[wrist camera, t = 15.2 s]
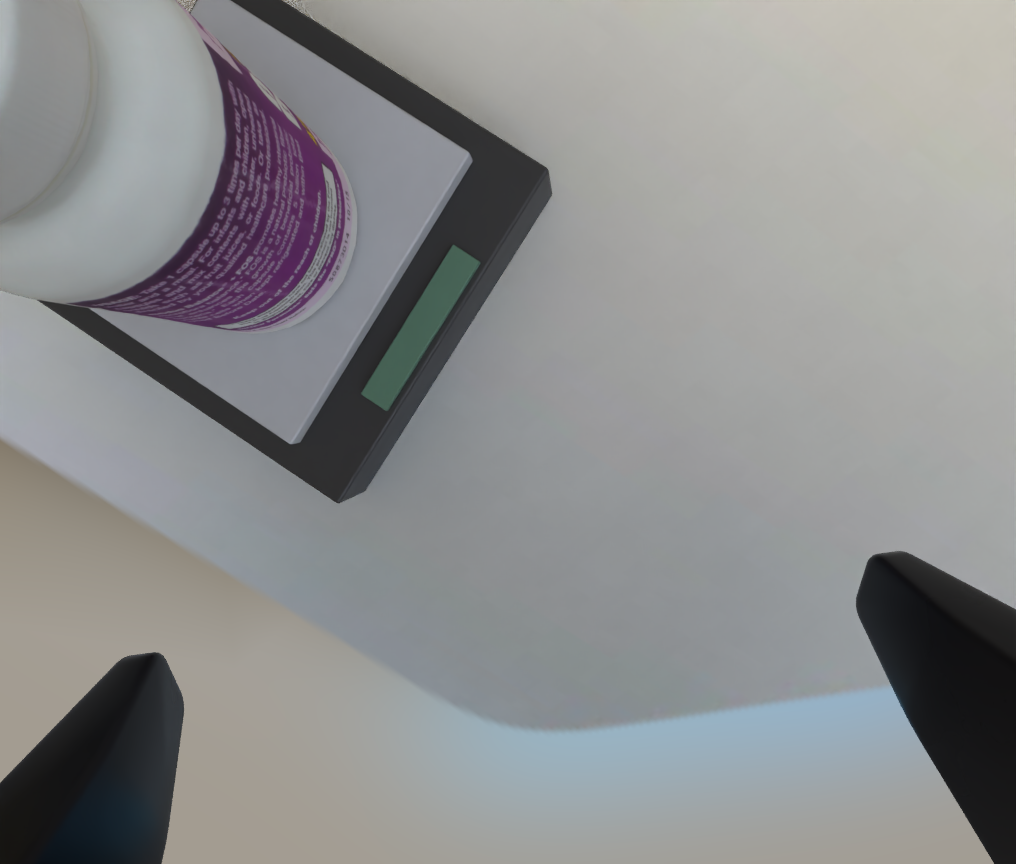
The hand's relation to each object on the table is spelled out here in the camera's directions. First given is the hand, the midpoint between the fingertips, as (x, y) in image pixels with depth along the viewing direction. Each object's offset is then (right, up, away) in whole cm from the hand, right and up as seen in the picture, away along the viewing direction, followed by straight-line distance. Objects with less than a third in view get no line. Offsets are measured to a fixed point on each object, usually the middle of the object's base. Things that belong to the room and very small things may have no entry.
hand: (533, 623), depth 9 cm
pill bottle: (-7, +8, +9) cm, 13 cm away
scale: (-6, +8, +11) cm, 15 cm away
